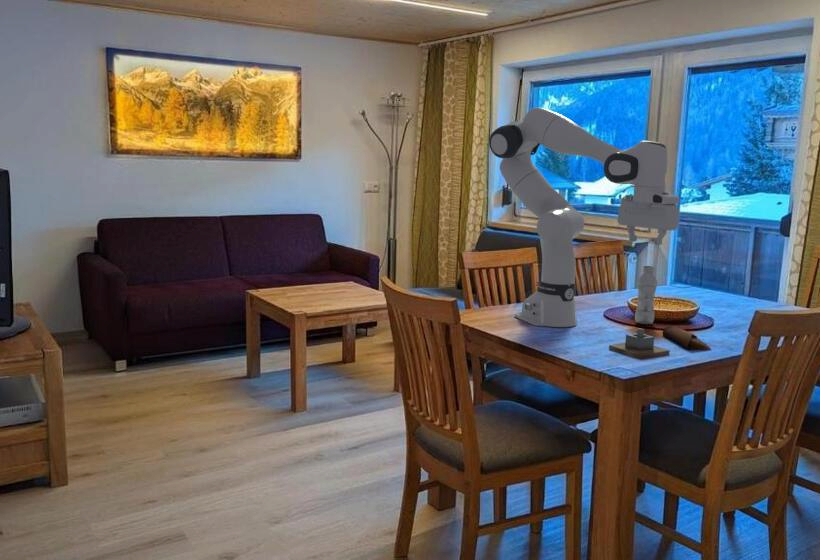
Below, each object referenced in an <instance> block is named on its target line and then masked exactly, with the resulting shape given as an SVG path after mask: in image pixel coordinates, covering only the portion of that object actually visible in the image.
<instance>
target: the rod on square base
mask: <svg viewBox="0 0 820 560" xmlns="http://www.w3.org/2000/svg"><path fill="white" fill-rule="evenodd" d="M636 333H637V337H640V338H642V337H644V334H645V329H644V328H639V327H638V328H636ZM608 349H609V350H610V351H614V352H617V353H620V354H624V355H626V356H629V357H633V358H635V359H639V360H645V359H651V358H655V357H662V356H667V355H670V350H669V349H666V348H662V347H660V346H656V345H654V347H653V349H650V350H643V351H638V350H635V349H632V348H628V347H625V342H623V343H622V342H620V343H613V344H609V345H608Z"/></svg>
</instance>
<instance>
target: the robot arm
mask: <svg viewBox="0 0 820 560" xmlns="http://www.w3.org/2000/svg"><path fill="white" fill-rule="evenodd" d="M488 145H489V149H490V151H491V153H492V155H494V156H495V157H496V158H499V159H501V161H500V164H499V171H500V174H501V175H502V177H503V178H504V181H505V182H506V184H507V185H508V187H509V188H510V189H511V191H512V192H513V193H514V194H515V196H516V197H517V198H518V200H519V201H520V202H521V204H523V206H524V208H526V209H527V210H528V211H529V212H531V213H532V214H533V215H535V217H537V218H538V221H537V223H536V232H537V235H538V237H539V243H540V248H541V249H540V250H541V259H542V260H541V262H542V263H541V277H540V278H541V280H540V281H536V282H535V286H537V289H536V291H535V292H534V293H532V294H530V296H528V297H526V299H525V298H524V300H523V302H522V306H521V307H522V308H521V311H519V312H515V313H514V317H515V318H517V319H519V320H521V321H523V322H525V323H529V324H530V325H533V326H535V327H536V326H537V327H538V326H539V327H550V328H551V327H552V328H571V327H575V326H577V324H578V323H577V321H578V319H577V317H576V300H575V294H576V289H577V288H576V282H575V281H576V280H575V278H576V266H577V265H576V262H577V259H576V257H575V253H574V246H573V245H574V244H573V240H574V239H576V238H578V236H579V235H580V234H581V233H582V232H583V230H584V228H585V218H584V216H583V214H582V213H581V212H579V211H578V210H577V209H576V208H575V207H573V206H572V204H571V203H570V202H568V201H567V199H565V197H563V196H562V195H561V194H560V193H559V192H558V191H557V190H555V189H554V187H553V186H552V184H550V183H549V181H548V180H547V179H546V178H545V176H544V175H543V174H542V173H541V171H540V170H539V169H538V167H536V166H535V164H534V163H533V161H532V158H531V156H533V155H535V154H536V153H537V151H538V149H539V148H540V146H543V147H544V148H547V149H549V150H551V151H553V152H556V153H559V154H562V155H568V156H579V157H585V158H589V159H593V160H595V161H597V162H599V163H601V164H603V174H604V176H605V178H606V179H607V181H610V182H611V183H614V184H617V185H633V186H634V187H633V194H632V195H631V194H626V195H624V196H623V197H622V198H620V199H621V200H620V206H619V209H618V213H617V223H618V225H619V226H626V230H627V233H628V241H630V242H637V240H638V235H636V233H635V229H636V227H638V228H645V229H646V228H647V229H654V230H657V234H658V235H657V237H655V238H654V239H653V245H658V246H661V245H662V244H663V239H664V238H665V236H666V234H667V231H676V230H677V229H678V227H679V224H680V223H679V222H680V208H679V206H678V205H679V203H680V197H679V196H677V195H675V194H673V193H671V192H669V191H668V190H666V187H667V185H666V180H665V178H666V175H667V173H668V149H667V147H666V145H665V144H663V143H661V142H658V141H651V140H647V139H646V140H640V141H639V142H638V143H637V144H635V145H634V146H632V147H629V148H627V149H624V150H623V149H621V148H618V147H617V146H614V145H612V144H610V143H608V142H606V141H604V140H602V139H600V138H598V137H596V136H595V135H593V134H592V133H590V132H589V131H587V130H585V129H584V128H583V127H581V126H580V125H578V124H577V123H576V122H574V121H572V120H571V119H570V118H567V117H566V116H564V115H563V114H560V113H558V112H555V111H553V110H550V109H547V108H545V107H540V106H538V107H533V108H531V109H530V110H528V111H527V113H526V114H525V116H524V117H523V119H519V120H514V121H511V122H510V123H508V124H504V125H501V126H499V127H497V128H496V129H495V130H493V132H491V134H490V136H489V139H488Z"/></svg>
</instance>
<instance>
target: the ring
mask: <svg viewBox="0 0 820 560" xmlns="http://www.w3.org/2000/svg"><path fill="white" fill-rule="evenodd" d="M624 343H625V347H628V348H632V349H635V350H638V351H643V350H650V349H653V347H654V346H655V345H654V344H655V336H652V335H648V334H645V333H644V337H642V338H640V337H637V332H635V333H634V332H633V333H627V334H625V342H624Z"/></svg>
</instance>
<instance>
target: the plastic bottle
mask: <svg viewBox="0 0 820 560" xmlns="http://www.w3.org/2000/svg"><path fill="white" fill-rule="evenodd" d="M654 273H655V266H651V265H643V267H642V274H641V275H640V276H639V278H638V280H637V294H638V295H637V296H638V297H637V305H636V310H635V313H634V321H635V322H636V324H640V325H644V324H645V325H652V324H653V322H654V321H655V311H654V310H655V309H654V307H655V303H654V302H655V296H656V290H657V285H658V280H657V278H656V276H655V274H654Z"/></svg>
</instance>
